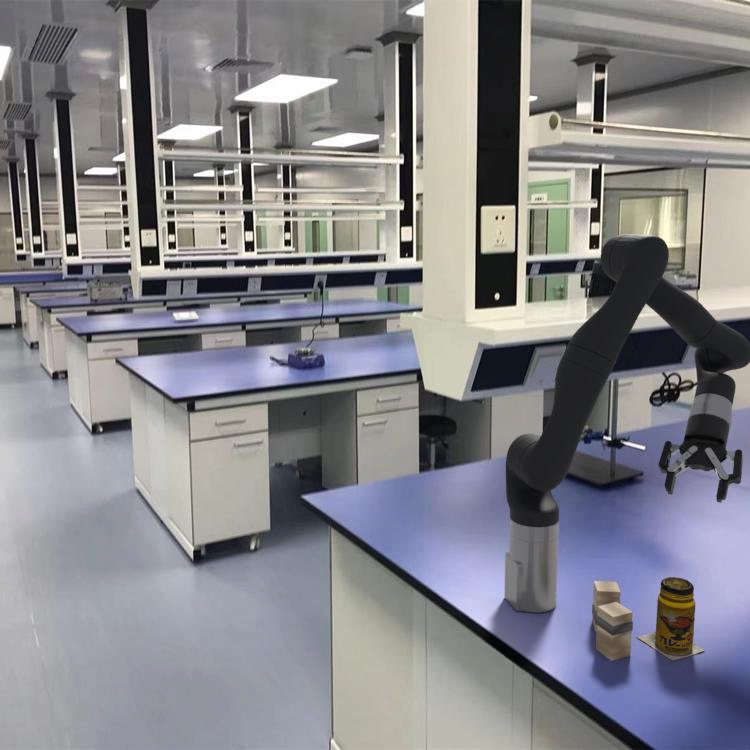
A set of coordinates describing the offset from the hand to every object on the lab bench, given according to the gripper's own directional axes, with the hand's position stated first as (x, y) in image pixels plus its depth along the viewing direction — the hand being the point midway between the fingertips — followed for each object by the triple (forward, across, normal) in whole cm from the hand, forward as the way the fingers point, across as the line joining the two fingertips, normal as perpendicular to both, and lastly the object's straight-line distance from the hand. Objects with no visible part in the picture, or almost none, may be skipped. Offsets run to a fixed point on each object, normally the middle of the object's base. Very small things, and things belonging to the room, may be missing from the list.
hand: (693, 496), depth 137 cm
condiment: (+26, 0, +6) cm, 27 cm away
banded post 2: (+32, -8, 0) cm, 33 cm away
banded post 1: (+26, -11, +5) cm, 29 cm away
